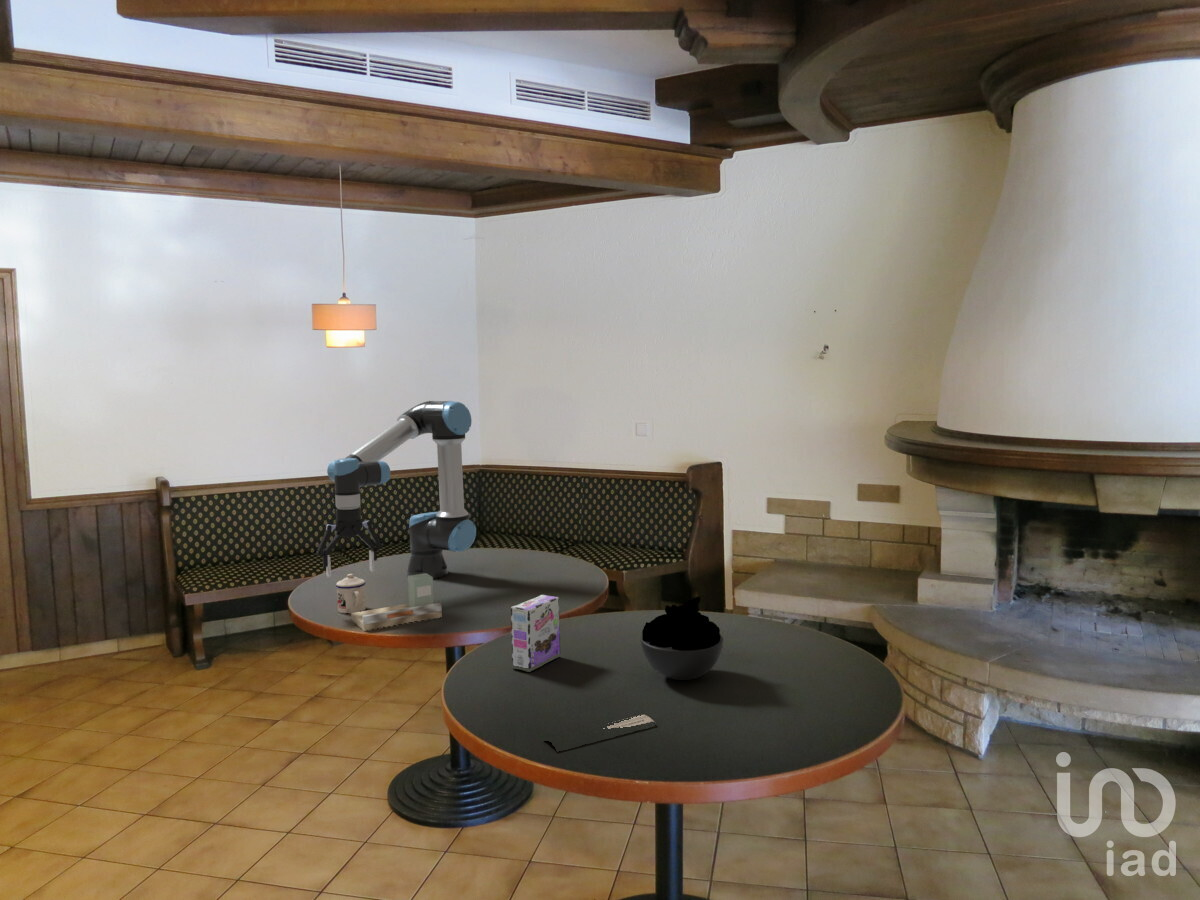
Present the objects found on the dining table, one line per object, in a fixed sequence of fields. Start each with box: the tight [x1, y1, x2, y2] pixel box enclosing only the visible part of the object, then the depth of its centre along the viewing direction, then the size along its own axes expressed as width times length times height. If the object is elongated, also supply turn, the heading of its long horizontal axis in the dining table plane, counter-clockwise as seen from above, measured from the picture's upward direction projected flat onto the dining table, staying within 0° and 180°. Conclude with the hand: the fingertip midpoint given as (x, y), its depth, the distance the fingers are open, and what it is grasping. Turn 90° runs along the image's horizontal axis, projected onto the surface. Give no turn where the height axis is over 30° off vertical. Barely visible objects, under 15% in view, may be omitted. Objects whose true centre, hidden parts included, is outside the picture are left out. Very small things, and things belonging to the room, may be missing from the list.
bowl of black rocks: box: [640, 596, 724, 681], centre depth 205 cm, size 20×20×19 cm
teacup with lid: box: [335, 573, 367, 614], centre depth 269 cm, size 12×9×12 cm
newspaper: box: [603, 714, 655, 729], centre depth 176 cm, size 24×7×2 cm, turn 119°
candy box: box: [510, 594, 561, 669], centre depth 217 cm, size 14×6×16 cm, turn 148°
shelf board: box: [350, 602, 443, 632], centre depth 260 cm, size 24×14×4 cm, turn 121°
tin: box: [407, 573, 435, 608], centre depth 263 cm, size 6×6×10 cm
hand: (350, 573), depth 268 cm, fingers open, 13 cm apart
